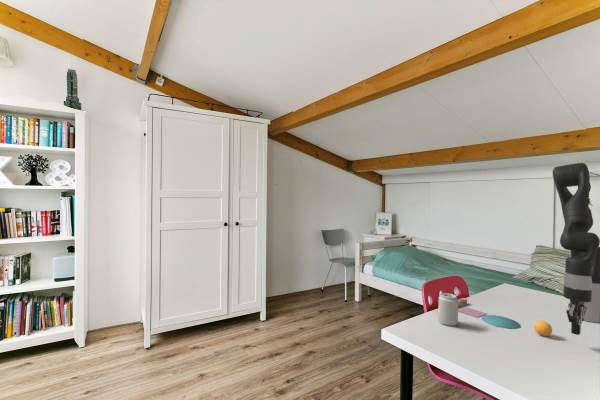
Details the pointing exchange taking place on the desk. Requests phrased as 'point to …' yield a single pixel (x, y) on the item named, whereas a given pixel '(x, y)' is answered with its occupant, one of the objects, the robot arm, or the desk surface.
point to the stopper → (462, 301)
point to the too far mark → (472, 312)
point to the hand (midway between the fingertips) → (575, 333)
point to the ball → (543, 328)
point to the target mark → (501, 321)
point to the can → (448, 309)
